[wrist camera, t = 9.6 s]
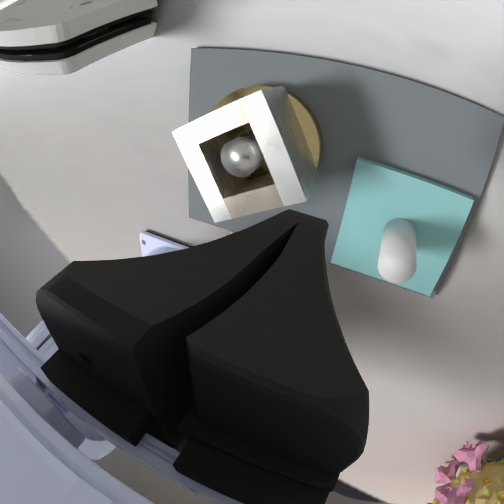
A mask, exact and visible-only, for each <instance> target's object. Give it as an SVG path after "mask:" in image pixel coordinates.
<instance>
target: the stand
mask: <svg viewBox="0 0 504 504" xmlns="http://www.w3.org/2000/svg"><path fill="white" fill-rule="evenodd" d="M473 202H474V200H473V197H472V196H470V195H467V194H465V193H462V192H460V191H457V190H455V189H452V188H450V187H447V186H444V185H442V184H439V183H436V182H434V181H431V180H428V179H425V178H423V177H420V176H417V175H414V174H411V173H408V172H405V171H402V170H399V169H396V168H393V167H390V166H387V165H384V164H381V163H377V162H374V161H371V160H367V159H364V158H361V157H358V158H357V161H356V165H355V170H354V174H353V178H352V183H351V187H350V191H349V195H348V199H347V203H346V207H345V211H344V215H343V219H342V223H341V227H340V230H339V234H338V238H337V241H336V245H335V249H334V252H333V256H332V259H331V263H333V264H336V265H339V266H342V267H345V268H348V269H351V270H354V271H357V272H360V273H363V274H366V275H369V276H372V277H375V278H378V279H381V280H384V281H387V282H390V283H392V284H395V285H398V286H401V287H404V288H407V289H410V290H413V291H416V292H419V293H422V294H424V295H427V296H430V294H431V293H432V291H433V289H434V287H435V285H436V283H437V281H438V279H439V277H440V275H441V273H442V271H443V269H444V267H445V265H446V263H447V261H448V259H449V257H450V255H451V253H452V251H453V249H454V247H455V244H456V242H457V240H458V238H459V236H460V233H461V231H462V229H463V226H464V224H465V222H466V219H467V217H468V214H469V212H470V210H471V207H472V204H473Z"/></svg>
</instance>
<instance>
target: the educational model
mask: <svg viewBox="0 0 504 504" xmlns="http://www.w3.org/2000/svg"><path fill="white" fill-rule="evenodd" d="M467 443H468V444H467ZM466 445H467V446H466ZM466 445H463V446H462V448H461V449H459V450H458V451H457V452H456V453H455V455H454V456H455V458H456V459H457V460H453V461H451V462H450V464H449V466H448V467H443V466H440V467H437V468H436V469H434V470H435V471H436V474H437V475H436V476H435V477H434V480H435V483H439V484H440V483H445V485H443V486H439V487H436V489H435V497H436V498H435V499H434V500H433V502H432V503H427V504H504V460H501V459H502V457H501V458H500V459H499V461H498V460H497V461H498V462H497V461H495V462H493V461H492V460H491V459H489V463H488V462H486V460H484V461H483V464H482V465H481V460H482V456H483V455H484V454H485V453H486V452H487V451H488V448H489V445H488V443H486V442H481V441H479V442H478V443H477V444H476V445H475V448H472V445H473V444H471V443H470V442H466ZM462 462H466V463H467V464H468V466H469V469H470V470H468V469H466V470H464V471H463V470H462V471H461V472H460V475H459V476H458V477H456V472H457V469H458V467H459V466H460V465H461V463H462Z"/></svg>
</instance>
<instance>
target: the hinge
mask: <svg viewBox="0 0 504 504" xmlns="http://www.w3.org/2000/svg"><path fill="white" fill-rule="evenodd" d="M157 6H158V4H157V0H18V1H16V2H14V3H13V4H11V5H9V6H7V7H5V8H4V9H2V10H0V69H2V70H5V71H8V72H11V73H17V74H25V75H66V74H70V73H73V72H76V71H78V70H80V69H82V68H83V67H85V66H87V65H89V64H91V63H93V62H95V61H98V60H100V59H102V58H104V57H106V56H108V55H110V54H113V53H115V52H117V51H119V50H122V49H124V48H126V47H129V46H131V45H134V44H136V43H138V42H141V41H144V40H146V39H149V38H151V37H153V36H154V34H155V32H156V27H157V23H156V22H152V21H151V18H149V17H143V16H141V15H144V14H147V13H151V12H152V8H154V7H157Z"/></svg>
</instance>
